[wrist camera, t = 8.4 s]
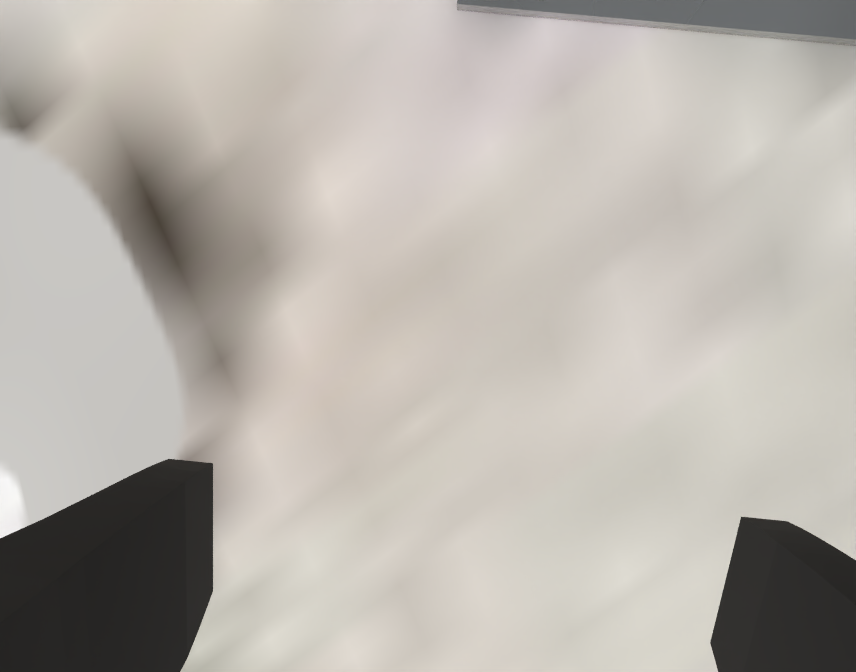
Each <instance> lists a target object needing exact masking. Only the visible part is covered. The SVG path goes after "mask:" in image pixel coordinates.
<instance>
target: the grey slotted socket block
mask: <svg viewBox="0 0 856 672" xmlns="http://www.w3.org/2000/svg"><path fill="white" fill-rule="evenodd" d="M457 10H462V11H474V12H485V13H496V14H507V15H518V16H530V17H541V18H552V19H563V20H574V21H586V22H597V23H608V24H619V25H630V26H641V27H653V28H664V29H675V30H686V31H697V32H709V33H720V34H731V35H742V36H753V37H765V38H776V39H787V40H798V41H809V42H820V43H832V44H843V45H854V46H856V0H458V1H457Z"/></svg>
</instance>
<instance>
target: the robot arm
mask: <svg viewBox="0 0 856 672" xmlns="http://www.w3.org/2000/svg"><path fill="white" fill-rule="evenodd" d="M212 592H213V463H204V462H194V461H184V460H174V459H168V460H165V461H162V462H160V463H157V464H155V465H152V466H151V467H148V468H146V469H144V470H142V471H140V472H137V473H135V474H133V475H131V476H129V477H127V478H125V479H123V480H121V481H119V482H117V483H115V484H113V485H111V486H109V487H107V488H105V489H103V490H101V491H99V492H97V493H95V494H94V495H91V496H89V497H87V498H85V499H83V500H81V501H79V502H77V503H75V504H73V505H71V506H69V507H67V508H65V509H63V510H61V511H59V512H57V513H55V514H53V515H51V516H49V517H47V518H45V519H43V520H40V521H38V522H36V523H34V524H31V525H29V526H27V527H25V528H23V529H20V530H18V531H16V532H14V533H11V534H9V535H7V536H5V537H3V538H0V672H180V671H181V669H182V667H183V665H184V663H185V661H186V659H187V657H188V655H189V652H190V650H191V647H192V645H193V642H194V640H195V637H196V635H197V632H198V630H199V627H200V624H201V622H202V619H203V616H204V614H205V611H206V608H207V606H208V603H209V600H210V597H211V595H212ZM710 643H711V647H712V650H713V654H714V658H715V661H716V665H717V668H718V672H856V560H854V559H853V558H851V557H849V556H848V555H846V554H845V553H843V552H841V551H840V550H838V549H836V548H835V547H833V546H831V545H830V544H828V543H826V542H825V541H823V540H821V539H820V538H818V537H816V536H814V535H813V534H811V533H809V532H807V531H805V530H803V529H802V528H800V527H798V526H795V525H793V524H791V523H789V522H787V521H778V520H768V519H758V518H748V517H741V520H740V524H739V528H738V532H737V536H736V540H735V544H734V549H733V553H732V557H731V561H730V565H729V569H728V573H727V577H726V581H725V585H724V589H723V593H722V598H721V602H720V606H719V610H718V614H717V618H716V622H715V626H714V630H713V634H712V638H711V642H710Z"/></svg>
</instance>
